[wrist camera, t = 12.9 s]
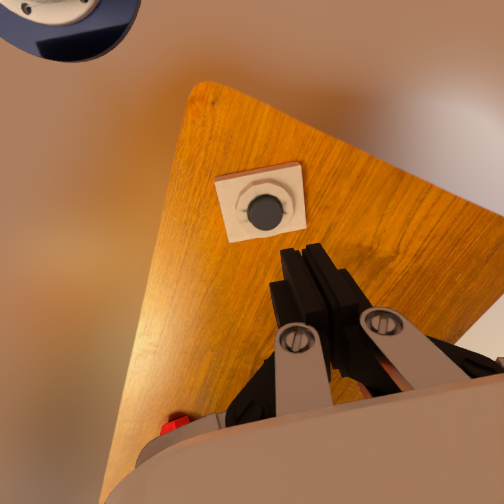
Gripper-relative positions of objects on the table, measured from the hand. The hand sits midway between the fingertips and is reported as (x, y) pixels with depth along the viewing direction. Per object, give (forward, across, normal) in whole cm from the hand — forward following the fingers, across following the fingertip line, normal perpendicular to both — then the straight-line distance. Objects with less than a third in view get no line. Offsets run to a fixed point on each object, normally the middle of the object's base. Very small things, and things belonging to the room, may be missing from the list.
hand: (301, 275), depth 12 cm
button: (+20, 0, +5) cm, 21 cm away
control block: (+24, 0, +5) cm, 25 cm away
